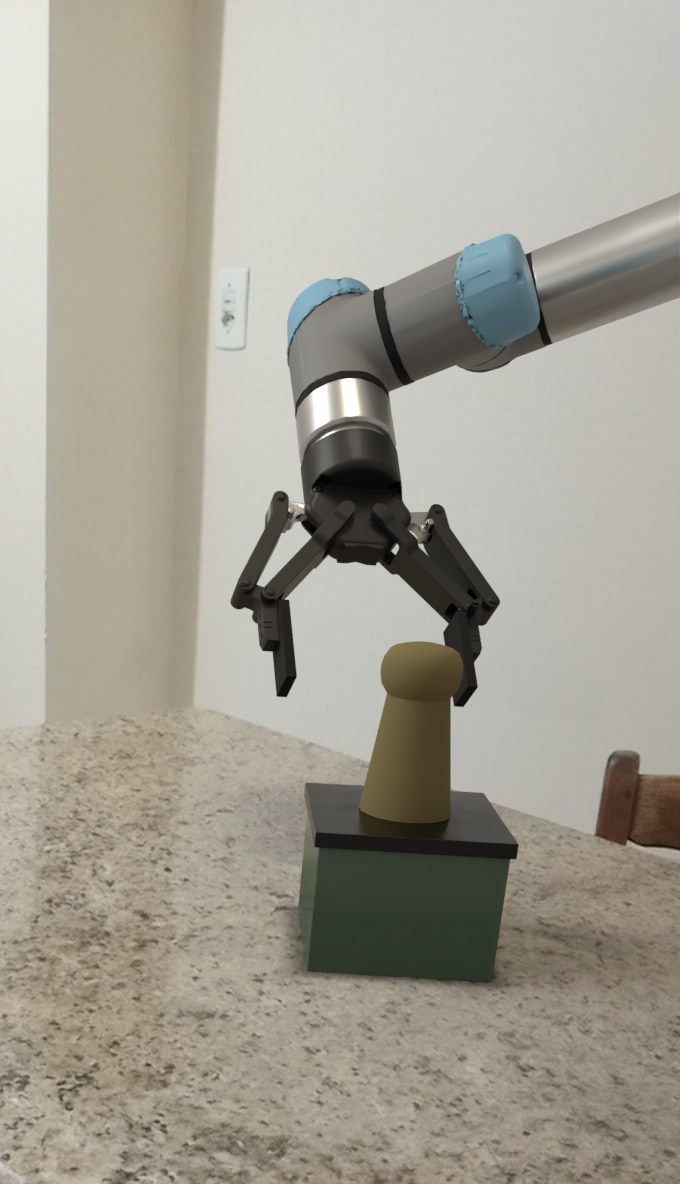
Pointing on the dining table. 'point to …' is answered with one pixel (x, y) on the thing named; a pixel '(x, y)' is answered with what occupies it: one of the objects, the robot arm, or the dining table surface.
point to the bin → (402, 888)
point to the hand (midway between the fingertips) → (377, 692)
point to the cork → (414, 735)
